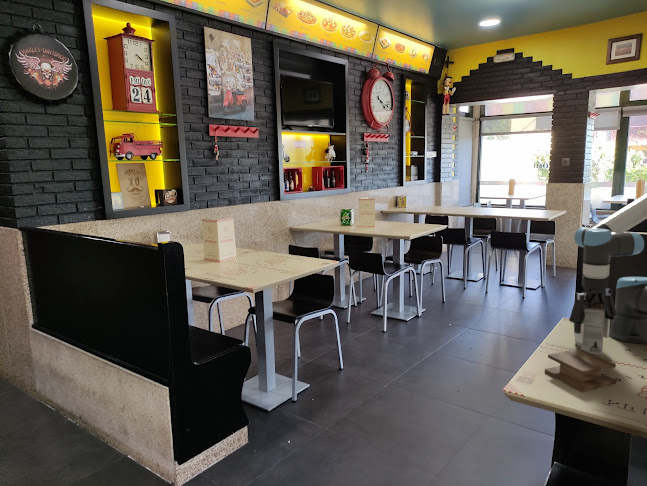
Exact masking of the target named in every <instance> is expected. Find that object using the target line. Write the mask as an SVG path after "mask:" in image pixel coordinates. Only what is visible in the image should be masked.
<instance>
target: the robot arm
mask: <svg viewBox="0 0 647 486" xmlns="http://www.w3.org/2000/svg"><path fill="white" fill-rule="evenodd" d="M645 220H647V192H646V193H645V194H642V195H641V196H640V197H638V198H636V199H635V200H633V201H632V202H630V203H628V204H626V205H625V206H623V207H622V208H620V209H619V210H617V211H616V212H614V213H612V214H610V215H608V216H607V217H606V218H604V219H603V220H601V221H599V222H598V223H595V224H594V225H593V226H590V227H589V226H582V227H579V228H578V229H577V230H575V232H574V236H573V240H574V242H575V244H576V245H577V246H578V247H581V248H583V257H582V258H583V259H582V261H583V262H582V279H581V286H582V288H583V292H581V293H579V292H575V300H574V303H573V306H572V309H571V313H570V316H569V319H568V321H569V322H570V323H573V331H574V332H575V334H574V342H575V341H576V342H579V343H581V344H582V343H583V335H584V324H582V323H583V321H584V319H585V312H584V313H583V305H584V306H593V304H596V303H602V304H604V305H605V317H604V332H603V338H606V339H609V338H610V337H611V338H612V339H615V340H618V341H622V342H625V343H627V342H628V343H633V344H647V276H646V277H645V276H623V277H620V278H618V280H617V282H616V287H615V298H614V297H613V296H614V289H611V288H609V282H610V281H609V276H610V267H611V265H610V263H611V258H616V257H627V256H628V257H631V256H634V255H638V254H639V255H640V254H641V252H643V251H644V247H645V240H644V238H643V236H642V235H641V234H640V233H638V232H629V230H630V229H632V228H634V227H635V226H637V225H638V224H640V223H642V222H643V221H645ZM627 231H628V232H627ZM614 299H615V301H614ZM586 301H587V302H588V303H586ZM576 342H575V343H576Z"/></svg>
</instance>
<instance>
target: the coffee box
mask: <svg viewBox="0 0 647 486" xmlns="http://www.w3.org/2000/svg"><path fill="white" fill-rule="evenodd" d="M586 303H588V302H587V301H586ZM584 312H585V319H584V321H583V323H582V324H584V335H583V343H582V344H581V346H580V349H582V350H584V351H586V352H589V353H591V354H593V355H599V356H602V355H603V346H604V345H603V344H604V337H603V332H604V317H605V305H604V304H602V303H596V304H593V306H584V305H583V313H584Z"/></svg>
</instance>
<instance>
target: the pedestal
mask: <svg viewBox="0 0 647 486" xmlns="http://www.w3.org/2000/svg"><path fill="white" fill-rule="evenodd" d="M547 359H550V360H552V361H554V362H556V363H558V364H559V365H557V366H553V367H548V368H545V369H544V373H545V374H546V375H548V376H551V378H554V379H556V380H558V381H559V382H562V383H563V384H565V385H567V386H569V387H571V388H573V389H575V390H576V391H578V392H581V393H584V392H589V391H592V390H597V389H600V388H601V389H602V388H605V387H609V386H615V385H617V384H618V379H615V378H614V377H611V376H609V375H607V374H605V373H603V372H602V371H605V370H609V369H610V370H611V369H614V368H616V367H617V366H616V365H617V364H616V363H614V362H612V361H610V360H607V359H605V358H602V357H600V356H597V354H591V353H589V352H586V351H584V350H582V349H581V348H575V349H570V350H565V351H560V352H555V353H548V354H547Z"/></svg>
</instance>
